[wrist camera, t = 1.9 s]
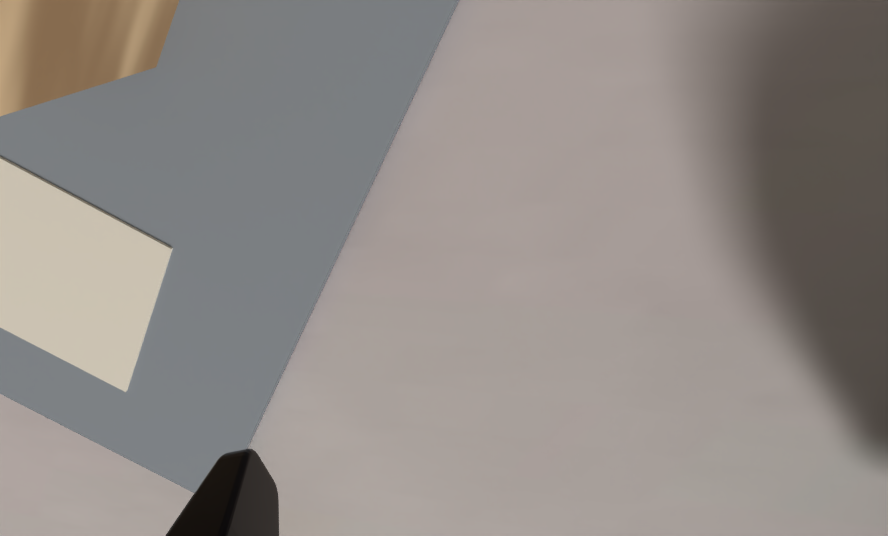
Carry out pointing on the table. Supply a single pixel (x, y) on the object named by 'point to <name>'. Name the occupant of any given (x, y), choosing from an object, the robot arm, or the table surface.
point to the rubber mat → (196, 218)
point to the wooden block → (75, 45)
